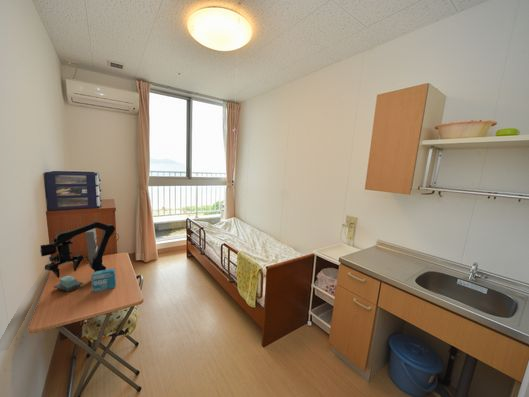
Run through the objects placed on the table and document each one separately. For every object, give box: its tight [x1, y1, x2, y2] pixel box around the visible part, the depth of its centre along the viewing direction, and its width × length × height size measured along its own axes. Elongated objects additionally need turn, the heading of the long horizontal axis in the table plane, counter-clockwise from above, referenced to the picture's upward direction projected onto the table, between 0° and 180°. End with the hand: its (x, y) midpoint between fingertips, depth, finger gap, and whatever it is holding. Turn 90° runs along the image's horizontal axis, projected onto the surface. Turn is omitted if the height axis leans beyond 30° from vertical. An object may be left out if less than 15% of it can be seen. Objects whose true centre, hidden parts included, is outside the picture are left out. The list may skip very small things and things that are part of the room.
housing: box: [59, 275, 78, 288], centre depth 142 cm, size 5×10×4 cm, turn 64°
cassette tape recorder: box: [85, 228, 98, 261], centre depth 189 cm, size 14×6×25 cm, turn 32°
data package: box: [90, 268, 117, 293], centre depth 141 cm, size 12×4×12 cm, turn 121°
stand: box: [53, 280, 84, 293], centre depth 142 cm, size 13×9×2 cm
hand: (66, 274), depth 141 cm, fingers open, 9 cm apart
